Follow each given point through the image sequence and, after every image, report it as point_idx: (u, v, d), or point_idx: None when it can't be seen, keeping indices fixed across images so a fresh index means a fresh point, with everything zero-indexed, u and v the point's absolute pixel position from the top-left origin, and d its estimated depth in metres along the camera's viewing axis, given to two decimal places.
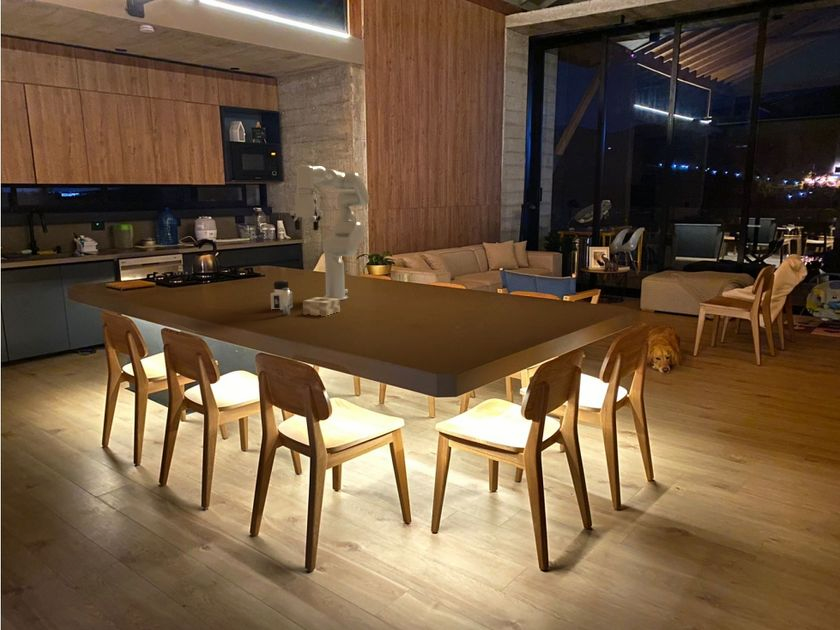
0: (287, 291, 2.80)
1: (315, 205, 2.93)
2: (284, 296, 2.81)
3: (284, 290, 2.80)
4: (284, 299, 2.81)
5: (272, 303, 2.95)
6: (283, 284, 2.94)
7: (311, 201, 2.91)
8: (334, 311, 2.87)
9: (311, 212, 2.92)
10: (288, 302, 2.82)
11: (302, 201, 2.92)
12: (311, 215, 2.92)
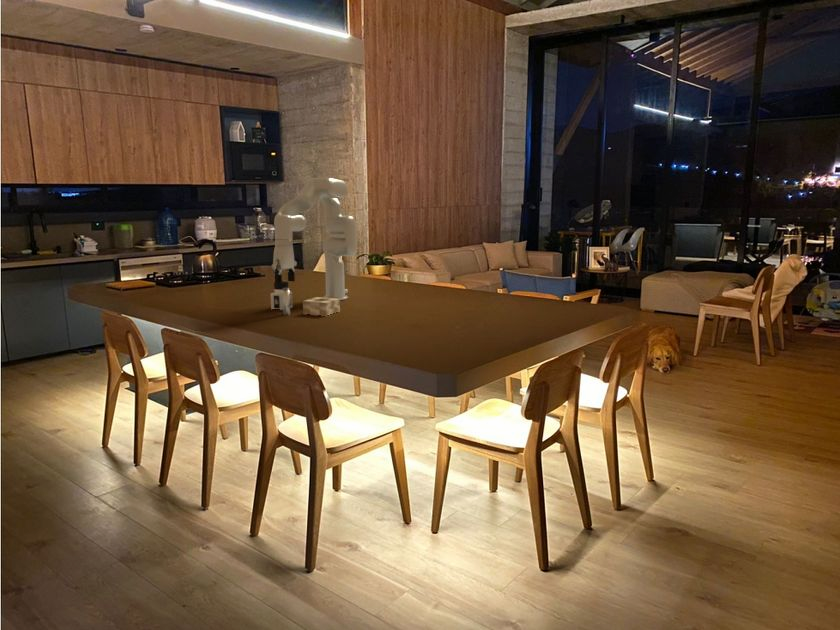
0: (287, 291, 2.80)
1: None
2: (284, 296, 2.81)
3: (284, 290, 2.80)
4: (284, 299, 2.81)
5: (272, 303, 2.95)
6: (283, 284, 2.94)
7: (293, 252, 2.81)
8: (334, 311, 2.87)
9: (293, 263, 2.82)
10: (288, 302, 2.82)
11: (288, 252, 2.77)
12: (293, 266, 2.82)
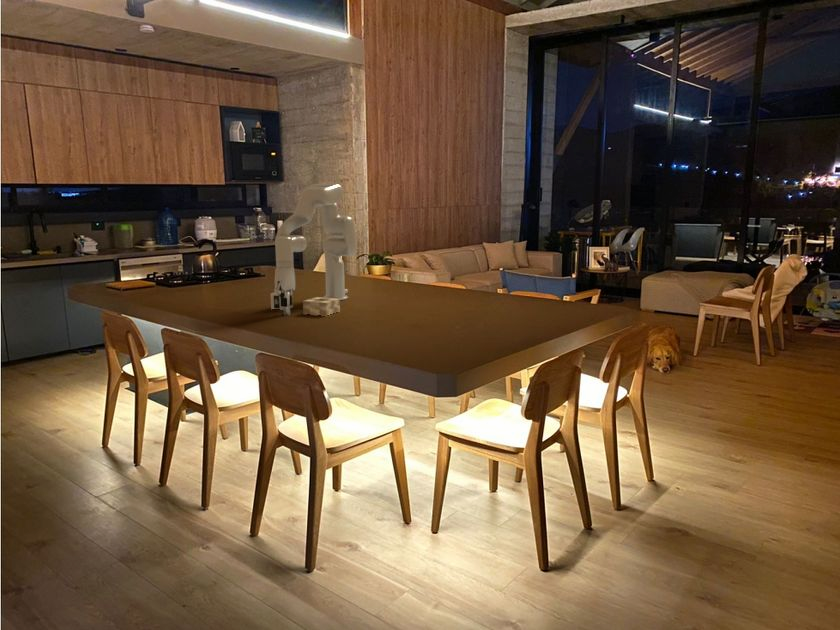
0: (287, 291, 2.80)
1: None
2: None
3: None
4: None
5: (272, 303, 2.95)
6: None
7: (294, 272, 2.83)
8: (334, 311, 2.87)
9: (294, 283, 2.84)
10: (288, 302, 2.82)
11: (289, 274, 2.79)
12: (294, 286, 2.84)
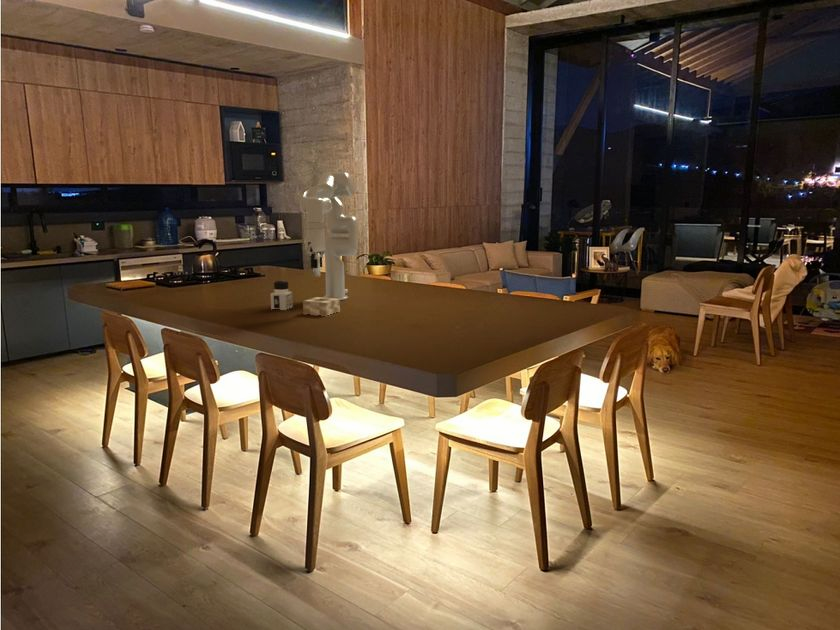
0: (317, 252, 2.81)
1: None
2: None
3: None
4: None
5: (272, 303, 2.95)
6: (283, 284, 2.94)
7: (324, 234, 2.84)
8: (334, 311, 2.87)
9: (325, 245, 2.85)
10: (318, 264, 2.82)
11: (320, 235, 2.79)
12: (324, 248, 2.85)
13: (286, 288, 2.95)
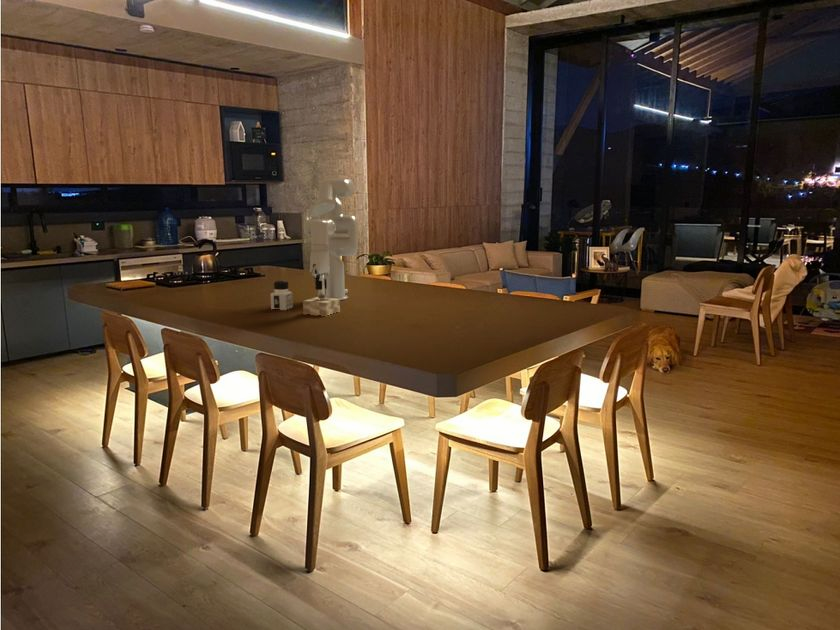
0: (322, 274, 2.84)
1: None
2: None
3: None
4: None
5: (272, 303, 2.95)
6: (283, 284, 2.94)
7: (328, 256, 2.86)
8: (334, 311, 2.87)
9: (329, 267, 2.87)
10: (323, 285, 2.85)
11: (324, 257, 2.82)
12: (329, 270, 2.87)
13: (286, 288, 2.95)
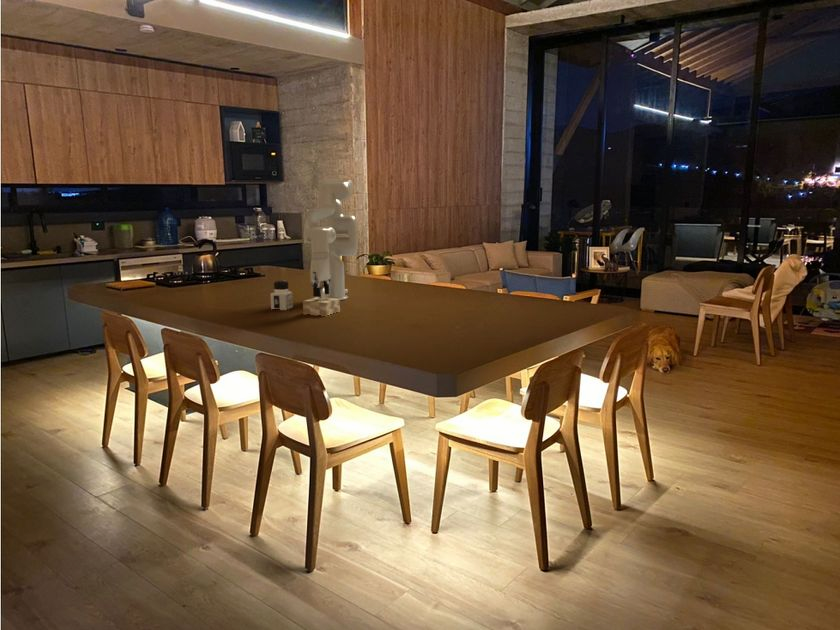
0: (322, 289, 2.85)
1: None
2: None
3: None
4: (319, 297, 2.85)
5: (272, 303, 2.95)
6: (283, 284, 2.94)
7: (329, 263, 2.87)
8: (334, 311, 2.87)
9: (329, 274, 2.88)
10: (323, 300, 2.86)
11: (324, 265, 2.83)
12: (329, 277, 2.88)
13: (286, 288, 2.95)
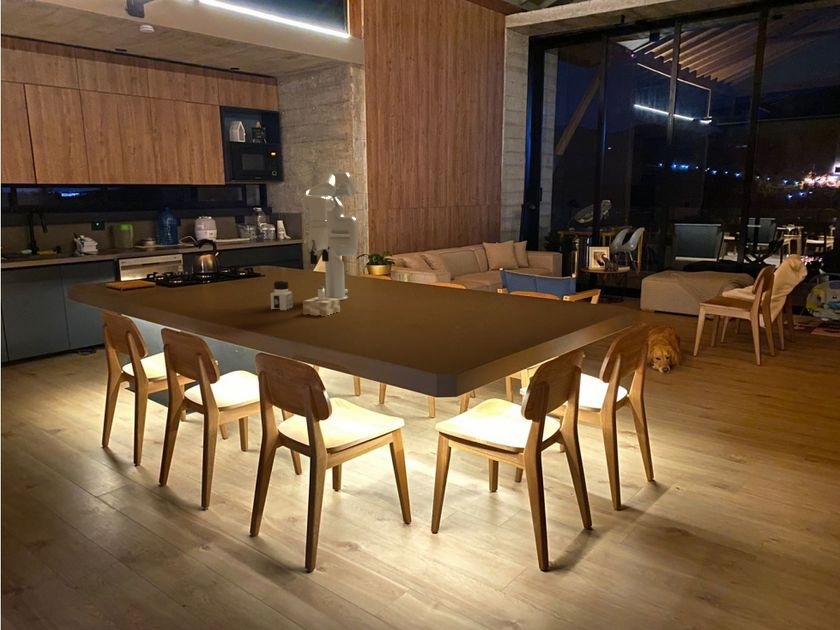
0: (322, 289, 2.85)
1: None
2: (319, 294, 2.85)
3: (319, 288, 2.85)
4: (319, 297, 2.85)
5: (272, 303, 2.95)
6: (283, 284, 2.94)
7: (327, 232, 2.85)
8: (334, 311, 2.87)
9: (327, 243, 2.86)
10: (323, 300, 2.86)
11: (323, 233, 2.81)
12: (327, 246, 2.86)
13: (286, 288, 2.95)
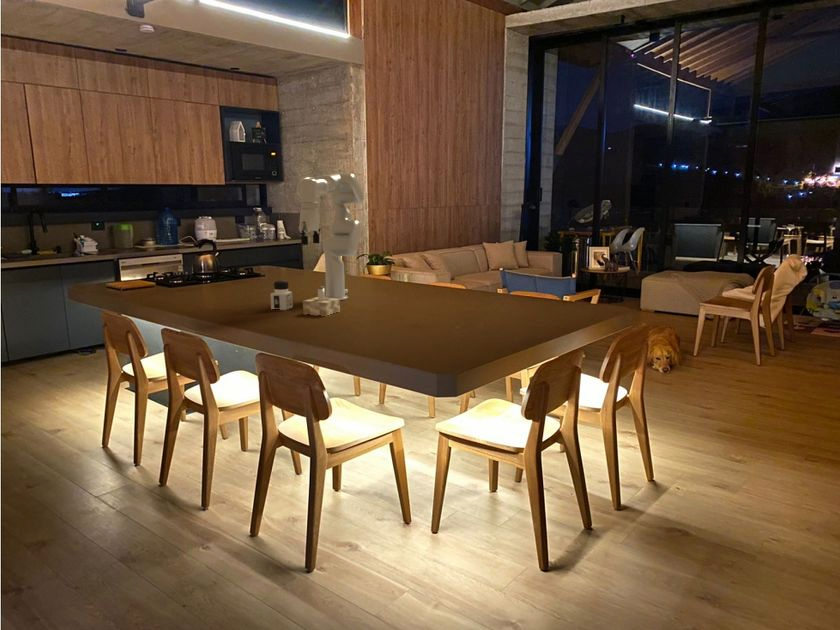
0: (322, 289, 2.85)
1: None
2: (319, 294, 2.85)
3: (319, 289, 2.85)
4: (319, 297, 2.85)
5: (272, 303, 2.95)
6: (283, 284, 2.94)
7: None
8: (334, 311, 2.87)
9: (318, 225, 2.95)
10: (323, 300, 2.86)
11: (313, 215, 2.89)
12: (318, 228, 2.95)
13: (286, 288, 2.95)
